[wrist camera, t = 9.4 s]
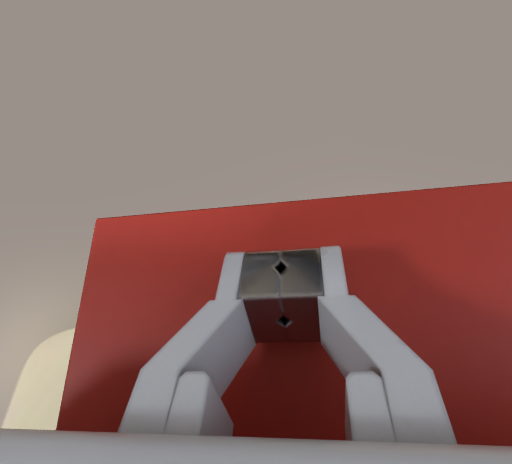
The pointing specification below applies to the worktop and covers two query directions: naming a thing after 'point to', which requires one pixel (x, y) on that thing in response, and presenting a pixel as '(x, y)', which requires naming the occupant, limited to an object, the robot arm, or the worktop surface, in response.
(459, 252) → the lid
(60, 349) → the worktop surface
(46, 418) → the worktop surface
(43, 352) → the worktop surface
